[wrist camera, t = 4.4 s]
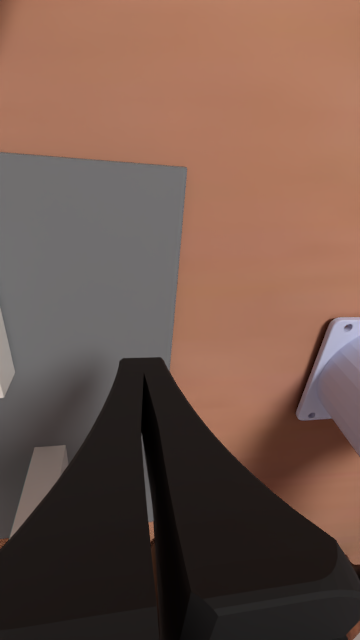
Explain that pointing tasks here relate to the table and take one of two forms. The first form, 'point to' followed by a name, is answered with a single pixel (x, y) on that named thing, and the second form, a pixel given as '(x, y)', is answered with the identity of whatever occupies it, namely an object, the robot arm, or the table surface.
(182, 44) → the table surface
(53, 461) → the tile
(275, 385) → the table surface
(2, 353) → the tile
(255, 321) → the table surface
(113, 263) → the mat
